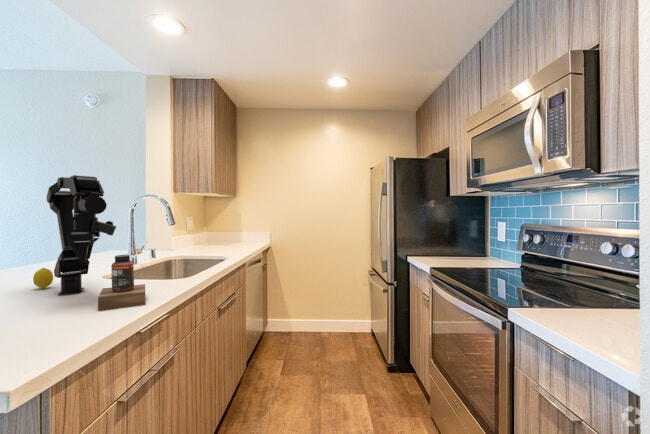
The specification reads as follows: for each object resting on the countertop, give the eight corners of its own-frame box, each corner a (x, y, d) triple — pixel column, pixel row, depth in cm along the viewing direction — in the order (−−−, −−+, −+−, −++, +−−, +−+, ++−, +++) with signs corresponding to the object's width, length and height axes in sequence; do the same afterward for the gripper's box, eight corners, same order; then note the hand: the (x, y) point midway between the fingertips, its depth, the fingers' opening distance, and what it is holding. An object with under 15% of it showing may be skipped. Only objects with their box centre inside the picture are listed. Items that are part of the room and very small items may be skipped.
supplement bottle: (130, 286, 102) (129, 253, 101) (136, 289, 98) (136, 255, 98) (109, 290, 97) (108, 255, 97) (115, 293, 93) (114, 257, 93)
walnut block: (102, 300, 100) (102, 288, 100) (145, 295, 106) (145, 284, 106) (97, 311, 89) (97, 297, 89) (145, 304, 95) (144, 292, 95)
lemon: (50, 286, 118) (49, 265, 117) (55, 288, 115) (55, 267, 115) (31, 289, 113) (30, 268, 113) (36, 291, 110) (36, 269, 110)
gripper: (111, 214, 96) (112, 263, 96) (116, 213, 112) (117, 255, 112) (66, 214, 90) (67, 266, 91) (78, 213, 106) (78, 257, 107)
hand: (85, 260), depth 100 cm, fingers open, 9 cm apart
